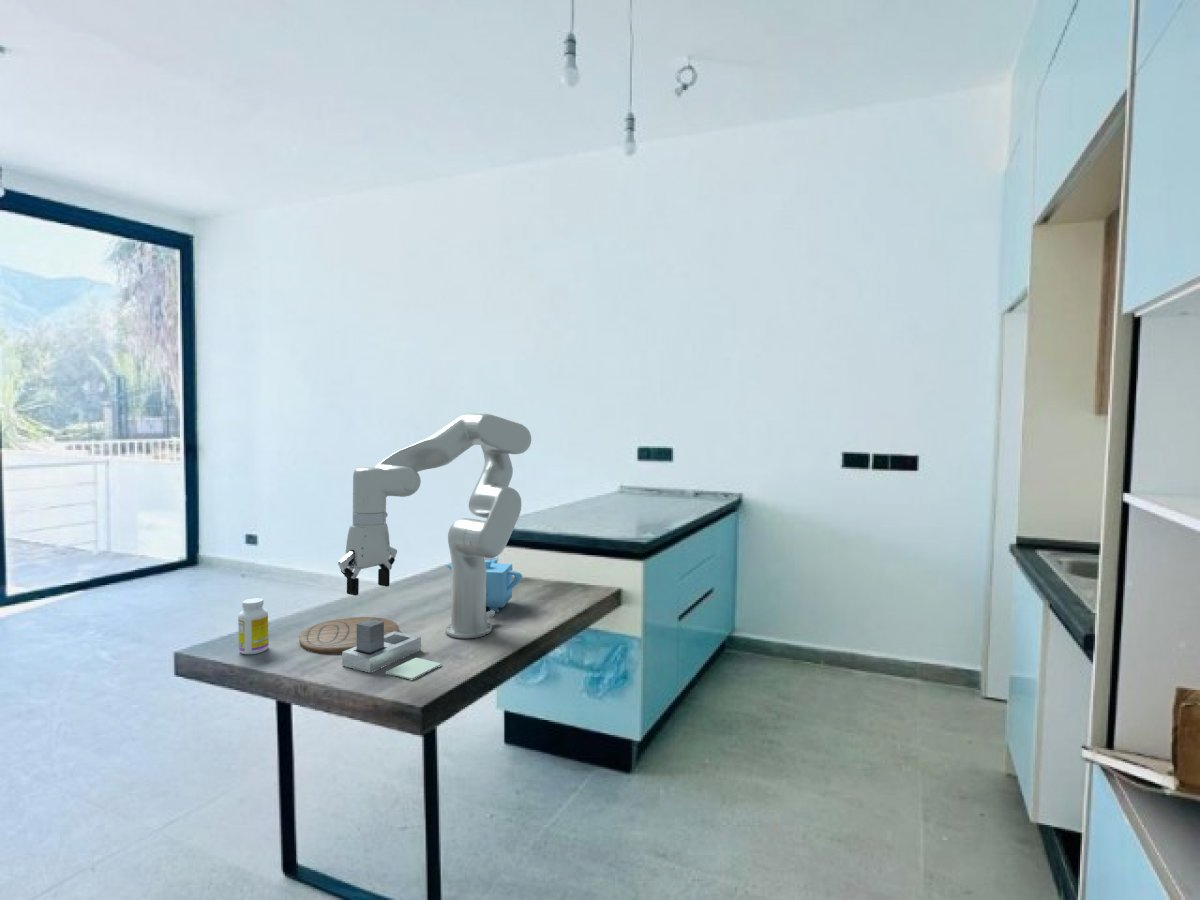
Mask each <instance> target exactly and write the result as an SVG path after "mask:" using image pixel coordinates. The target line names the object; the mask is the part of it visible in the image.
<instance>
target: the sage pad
mask: <svg viewBox="0 0 1200 900" xmlns="http://www.w3.org/2000/svg"><path fill="white" fill-rule="evenodd" d="M440 665H441V666H442V663H441V662H437V661H432V660H428V659H425V658H424V659H423V658H421V657H420V658H419V657H415V658H411V659H409V660H407V661H405V662H403V663H400V664H399V665H397V666H395V667H393V668H390V669H389V670H386V671H385V674H386V673H387V674H392V675H396V676H400V677H404V678H408V679H414V678H416V677H418V676H420V675H422V674H424V673H426V672H428V671H430V670H432V669H435V668H436V667H438V666H440ZM435 670H436V669H435ZM387 674H386V675H387Z"/></svg>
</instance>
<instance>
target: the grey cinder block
mask: <svg viewBox="0 0 1200 900" xmlns="http://www.w3.org/2000/svg"><path fill="white" fill-rule="evenodd" d="M421 645H422V637H421V636H417V635H413V634H409V633H404V632H396V631H394V632H391V633H389V634H386V635H384V649H383V650H381V651H378V652H376V653H374V654H371V655H368V654H364V653H360V652H357V646H356V647H353V648H351V649H348V650H345V651H343V652H342V654H341V667H343V666H345V667H344V668H347V667H349V668H348V669H351V668H353V669H352V670H355V669H357V670H356V671H359V670H362V671H365V672H364V673H366V672H369V673H368V674H371V673H370V672H372V671H374V670H376V671H378V670H380V669H379V668H381V667H383V666H385V665H387V666H389V665H388V664H390V663H392V662H394V661H396V662H398V661H400V660H399V659H401V658H403V657H405V658H407V657H409V656H411V655H410V654H412V655H413V653H414V654H416V653H418V652H421V650H422V647H421ZM417 651H418V652H417ZM415 652H416V653H415ZM408 655H409V656H408ZM406 656H407V657H406ZM403 659H404V658H403ZM397 660H398V661H397ZM401 660H402V659H401ZM394 663H395V662H394ZM392 664H393V663H392ZM390 665H391V664H390ZM385 667H386V666H385ZM383 668H384V667H383ZM377 669H378V670H377ZM381 669H382V668H381ZM362 671H361V672H362ZM374 672H375V671H374ZM372 673H373V672H372Z"/></svg>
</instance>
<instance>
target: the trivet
mask: <svg viewBox="0 0 1200 900" xmlns="http://www.w3.org/2000/svg"><path fill="white" fill-rule="evenodd" d="M369 619H373V620H378V621H382V622H384V635H386V634H389V633H391V632H394V631H396V632H398V631H399V625H398V624H397V622H394V621H393V620H391V619H387V618H383V617H374V616H372V617H371V616H356V617H354V616H353V617H345V618H338V619H332V620H328V621H324V622H321V623H317V624H314V625H312V626H310V627H307V628H306V629H304V630H303V631H302V632H301V633H300V635H299V637H298V638H299V646H300V647H301V648H302V647H303V649H304V650H305V649H306V651H308V650H309V651H308V652H311V651H312V653H316V652H317V653H318V654H323V653H342V652H343V651H345V650H348V649H351V648H353V647H356V646H357V624H358V623H361V622H364V621H366V620H369Z"/></svg>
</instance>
